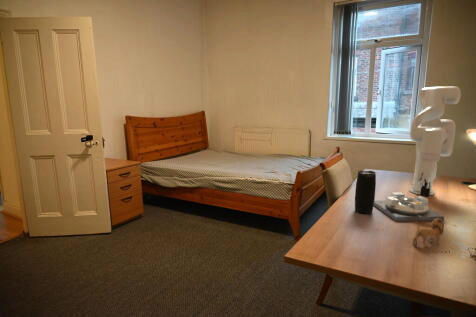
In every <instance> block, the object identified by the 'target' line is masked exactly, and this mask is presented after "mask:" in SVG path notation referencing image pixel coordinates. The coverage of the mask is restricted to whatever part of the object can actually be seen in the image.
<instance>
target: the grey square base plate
mask: <svg viewBox="0 0 476 317" xmlns="http://www.w3.org/2000/svg"><path fill="white" fill-rule="evenodd" d="M385 201H386V200H374V206H373V207H375V208H376V209H377V210H379V211H381V212H382V213H384V215H386V216H387V217H389V218H390V219H392V220H393V221H395V222H432V221H433V220H434V219H436V218H439V219H442V221H443V222H444V221H445V216H444V215H442V214H441V213H438V212H437V211H435V210H433V209H431V208H428V212H427V213H426V214H421V215H413V214H405V213H400V212H396V211H393V210H391V209H389V208H387V207H386V206H385Z"/></svg>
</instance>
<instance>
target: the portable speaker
mask: <svg viewBox="0 0 476 317" xmlns="http://www.w3.org/2000/svg"><path fill="white" fill-rule="evenodd" d="M355 181H356V182H355V191H354V193H355V195H354V212H356V213H358V214H361V213H364V214H365V213H366V214H367V215H371V214H373V211H374V210H373V209H374V207H375V206H374V201H376V198H375V197H376V186H377V184H376V183H377V174H376V171H374V170H358V171H357V177H356V180H355Z"/></svg>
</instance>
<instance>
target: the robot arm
mask: <svg viewBox="0 0 476 317" xmlns="http://www.w3.org/2000/svg"><path fill="white" fill-rule="evenodd" d="M418 95H419V96H418V97H419V102H420V105H421V108H422V110H421V111H420V112H419V113H417V115H416V116H414V118H413V119H412V121H411V126H410V133H409V136H410V140H411V141H412V142H414V143H415V162H414V163H415V166H414V174H413V182H411V183H410V185H411V186H412V187H409V189H408V190H409V192H411V193H412V194H416V195H419V196H422V197H425V198H428V197H430V196H433V195H435V191H434V190H433V182H434V181H435V180H436V176H437V168H438V162H440V159H441V157H450V156H452V153H453V151H454V150H453V149H454V142H455V135H456V123H455V121H454V120H453V119H444V118H441V117H443V116H444V113H445V108H446V106H445V105H457V104H458V103H459V102H460V100H461V97H462V93H461V89H460V88H459V86H430V87H429V86H428V87H423V88H421V89H420V91H419V93H418Z"/></svg>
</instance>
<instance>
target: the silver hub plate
mask: <svg viewBox="0 0 476 317" xmlns="http://www.w3.org/2000/svg"><path fill="white" fill-rule="evenodd" d="M384 201H385V206H386V207H387V208H389V209H391V210H393V211H396V212H400V213H405V214H413V215H421V214H426V213H427V212H428V208H429V199H428V197H424V196H421V195H418V196H417V195H415V196H414V198H412V197H409V196H405V193H402V192H401V191H399V192H398V191H397V192H394V191H393V192H391V193H390V196H386V197H385V200H384ZM429 209H430V208H429Z"/></svg>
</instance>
